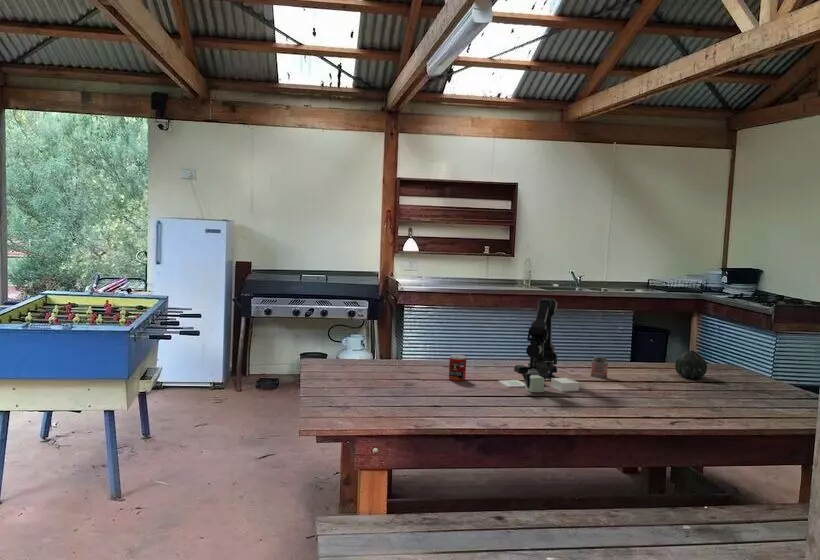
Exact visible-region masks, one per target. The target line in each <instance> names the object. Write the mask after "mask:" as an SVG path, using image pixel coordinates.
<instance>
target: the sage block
mask: <svg viewBox="0 0 820 560" xmlns="http://www.w3.org/2000/svg"><path fill="white" fill-rule="evenodd" d="M544 380H545V378H543V377H541V376H539V375H531V376H530V386H529V388H527V386H526V383H524V384H525V387H524V389H525V390H527V391H529V392H531V393H543V392H545V382H544ZM545 381H546V380H545Z"/></svg>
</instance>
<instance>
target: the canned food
mask: <svg viewBox="0 0 820 560" xmlns="http://www.w3.org/2000/svg"><path fill="white" fill-rule="evenodd" d="M448 363H449V364H448V380H449V381H452V382H464V381H465V380H466V373H467V371H466V370H467V356H466V355H462V354H451V355H449V361H448Z"/></svg>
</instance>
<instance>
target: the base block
mask: <svg viewBox="0 0 820 560" xmlns="http://www.w3.org/2000/svg"><path fill="white" fill-rule="evenodd" d="M550 378H551V377H550ZM550 387H551V388H553V389H556V390H557V391H559V392H575V391H577V392H578V391H580V382H579V381H577V380H575V379H573V378H570V377H555V378H554V377H552V378H551V381H550Z"/></svg>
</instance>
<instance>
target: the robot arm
mask: <svg viewBox="0 0 820 560" xmlns="http://www.w3.org/2000/svg"><path fill="white" fill-rule="evenodd" d="M537 308H538V310H537V314H536V319H535V320H534V321H533V322H531V326H529V328H528V333H527V337H526V341H527V342H529V343H530V344H529V345H528V346H527V347H526V350H525V351H526V354H527V356H528V357H529V363H528V364H527V366H526V365H523V364H516V365H514V367H513V371H514V372H516V373H517V374H520V375H522V377H523V381H524V380H525V383H524V384H526V386H527V388H529V386H530V376H531V374H529V372H530V371H538V373H540V376H541V377H543V378H545V380H544V383H545V382H546V379H547V378H548V377H549V378H551V377H552V378H554V377H555V378H556V374H555V373H558V366H556V365H558V355H557V353H556V349H555V348H556V347H555V345H553V342H552V340H553V316H554V315H555V313H556V310H557V308H558V301H557V300H556V299H554V298H544V297H541V299H538V300H537Z"/></svg>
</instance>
